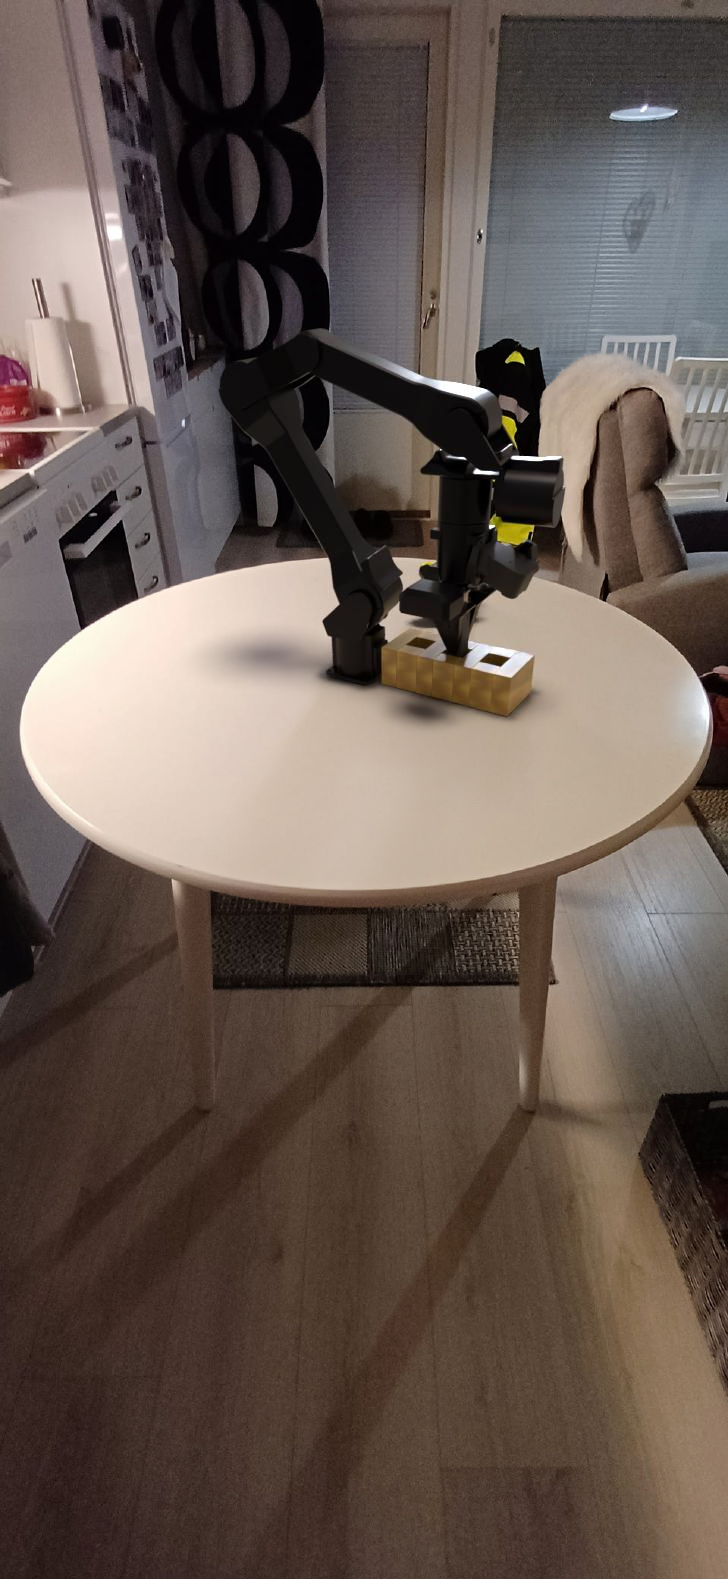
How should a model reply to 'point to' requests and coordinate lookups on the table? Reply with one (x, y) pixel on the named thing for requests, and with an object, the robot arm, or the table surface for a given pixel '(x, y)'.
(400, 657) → the holder
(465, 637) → the peg
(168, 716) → the table surface
